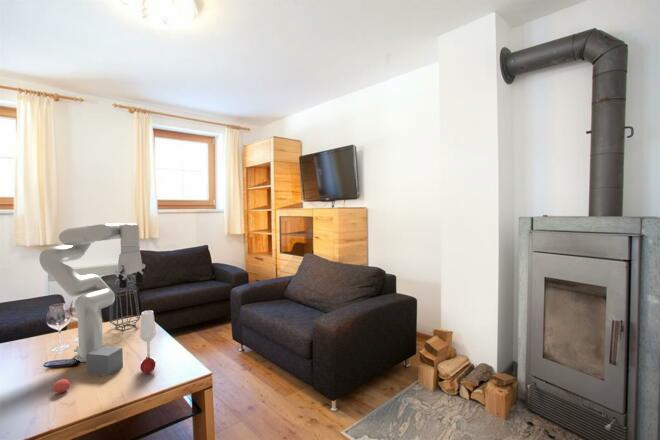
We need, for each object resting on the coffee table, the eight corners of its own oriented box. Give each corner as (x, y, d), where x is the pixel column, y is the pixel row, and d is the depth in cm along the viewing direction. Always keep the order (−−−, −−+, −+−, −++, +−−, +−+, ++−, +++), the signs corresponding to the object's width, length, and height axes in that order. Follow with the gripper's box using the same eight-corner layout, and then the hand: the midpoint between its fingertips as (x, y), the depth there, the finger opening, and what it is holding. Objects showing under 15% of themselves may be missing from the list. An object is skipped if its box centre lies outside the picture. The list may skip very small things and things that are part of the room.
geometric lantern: (118, 334, 184) (114, 274, 182) (105, 329, 192) (101, 272, 190) (145, 325, 197) (142, 269, 196) (132, 321, 205) (129, 267, 204)
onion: (144, 370, 143) (144, 353, 142) (158, 370, 143) (157, 353, 143) (138, 377, 137) (137, 359, 137) (151, 377, 138) (151, 359, 137)
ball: (50, 395, 125) (49, 382, 124) (62, 388, 129) (62, 376, 129) (60, 396, 124) (60, 384, 123) (73, 389, 129) (72, 377, 128)
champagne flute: (149, 365, 147) (148, 315, 146) (137, 364, 149) (135, 314, 148) (160, 358, 154) (158, 310, 153) (148, 357, 155) (146, 309, 154)
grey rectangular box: (86, 373, 141) (86, 353, 141) (102, 364, 149) (101, 346, 148) (108, 375, 139) (108, 355, 139) (123, 366, 147) (122, 347, 146)
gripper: (137, 247, 159) (138, 280, 160) (107, 252, 142) (109, 289, 143) (150, 247, 158) (151, 281, 159) (122, 252, 141) (123, 290, 142)
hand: (131, 285), depth 151 cm, fingers open, 9 cm apart
